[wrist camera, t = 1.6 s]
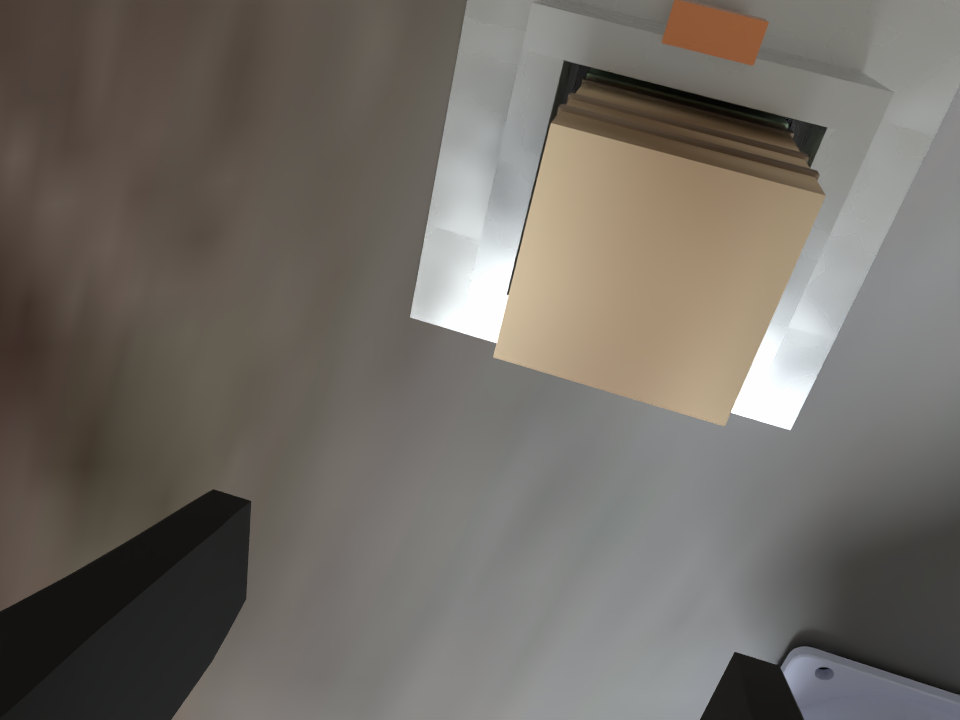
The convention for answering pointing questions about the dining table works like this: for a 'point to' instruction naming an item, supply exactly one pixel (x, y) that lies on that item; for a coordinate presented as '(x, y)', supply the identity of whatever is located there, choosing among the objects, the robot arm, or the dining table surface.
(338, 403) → the dining table surface
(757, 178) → the post
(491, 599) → the dining table surface
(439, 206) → the stand base
